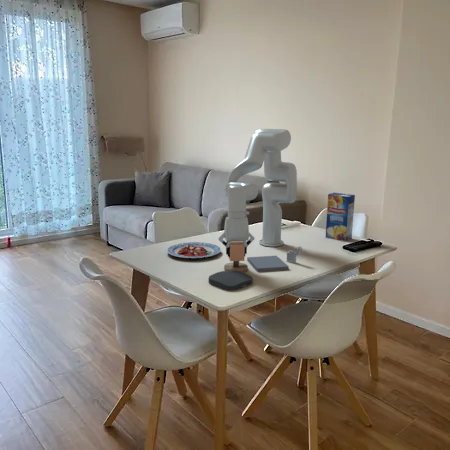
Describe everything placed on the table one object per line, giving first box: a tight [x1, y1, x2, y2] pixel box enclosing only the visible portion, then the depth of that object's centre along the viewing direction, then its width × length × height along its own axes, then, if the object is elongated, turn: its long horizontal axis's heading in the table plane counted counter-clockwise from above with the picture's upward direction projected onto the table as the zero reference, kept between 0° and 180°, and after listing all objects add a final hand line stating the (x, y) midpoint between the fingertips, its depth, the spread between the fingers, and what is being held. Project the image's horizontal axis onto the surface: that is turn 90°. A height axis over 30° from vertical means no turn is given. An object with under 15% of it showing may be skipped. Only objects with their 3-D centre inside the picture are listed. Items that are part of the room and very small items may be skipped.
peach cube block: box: [228, 241, 246, 262], centre depth 193 cm, size 6×6×7 cm
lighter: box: [286, 246, 303, 264], centre depth 204 cm, size 7×2×8 cm, turn 48°
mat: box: [246, 255, 290, 273], centre depth 200 cm, size 16×14×2 cm
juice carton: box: [325, 192, 356, 242], centre depth 244 cm, size 12×8×24 cm, turn 50°
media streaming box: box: [208, 270, 254, 291], centre depth 179 cm, size 15×15×3 cm
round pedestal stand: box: [223, 261, 249, 273], centre depth 193 cm, size 10×10×10 cm
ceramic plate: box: [166, 241, 222, 260], centre depth 217 cm, size 26×26×3 cm
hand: (236, 255), depth 193 cm, fingers closed on peach cube block, 5 cm apart
